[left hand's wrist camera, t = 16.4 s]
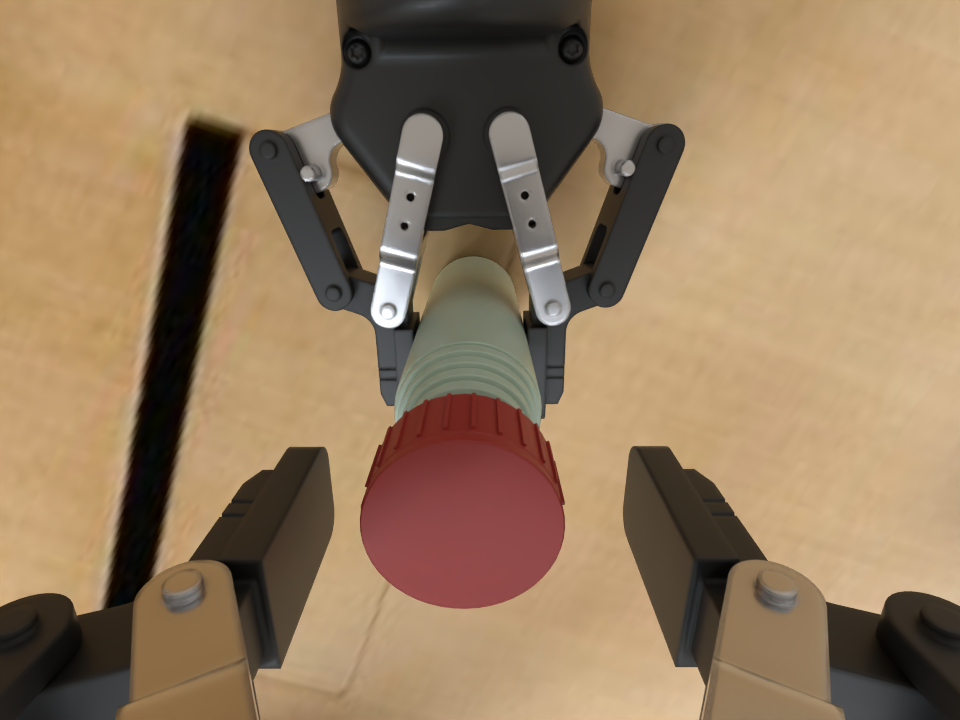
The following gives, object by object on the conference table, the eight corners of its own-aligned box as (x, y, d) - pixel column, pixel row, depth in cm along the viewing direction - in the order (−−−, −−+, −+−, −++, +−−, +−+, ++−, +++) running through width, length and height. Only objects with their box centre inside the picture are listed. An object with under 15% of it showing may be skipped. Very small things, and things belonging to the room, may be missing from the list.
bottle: (477, 237, 25) (472, 381, 10) (532, 302, 26) (607, 523, 11) (413, 294, 26) (317, 505, 11) (469, 353, 27) (455, 624, 12)
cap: (340, 445, 12) (313, 501, 10) (496, 357, 11) (499, 399, 9) (439, 568, 13) (432, 639, 11) (585, 496, 13) (603, 558, 11)
